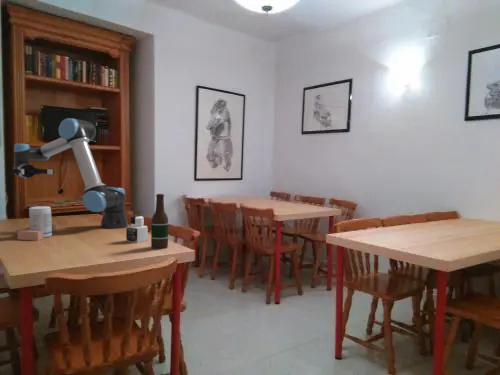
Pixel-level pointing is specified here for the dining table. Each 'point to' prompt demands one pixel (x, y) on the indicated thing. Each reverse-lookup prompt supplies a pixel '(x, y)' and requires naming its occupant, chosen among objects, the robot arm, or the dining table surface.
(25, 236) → the block
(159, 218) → the beer bottle
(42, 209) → the supplement tub
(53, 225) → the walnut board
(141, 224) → the medicine bottle
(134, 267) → the dining table surface
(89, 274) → the dining table surface
